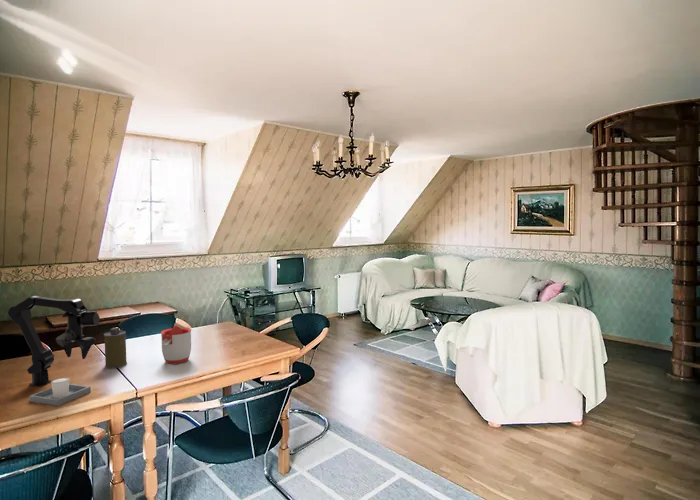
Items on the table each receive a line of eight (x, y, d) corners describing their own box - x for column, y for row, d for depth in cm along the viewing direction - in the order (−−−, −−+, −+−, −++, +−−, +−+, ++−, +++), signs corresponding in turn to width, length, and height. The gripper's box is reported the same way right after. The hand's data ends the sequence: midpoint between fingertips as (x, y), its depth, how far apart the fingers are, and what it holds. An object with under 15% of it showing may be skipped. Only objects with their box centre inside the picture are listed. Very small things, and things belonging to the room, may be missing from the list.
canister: (120, 368, 230) (119, 330, 228) (100, 368, 230) (99, 330, 229) (131, 361, 241) (129, 325, 239) (112, 361, 241) (111, 325, 239)
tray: (29, 401, 188) (29, 395, 188) (64, 387, 203) (63, 382, 203) (57, 406, 183) (57, 400, 183) (90, 391, 198) (90, 386, 198)
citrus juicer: (152, 365, 235) (151, 328, 233) (174, 355, 251) (173, 321, 250) (177, 368, 230) (176, 330, 229) (198, 358, 247) (197, 323, 245)
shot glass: (73, 392, 197) (72, 377, 196) (64, 398, 190) (63, 383, 189) (58, 392, 196) (57, 377, 196) (47, 399, 190) (47, 383, 189)
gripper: (43, 328, 203) (45, 361, 204) (74, 331, 197) (76, 365, 198) (65, 322, 213) (67, 354, 215) (95, 325, 208) (97, 357, 209)
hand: (76, 358), depth 209 cm, fingers open, 9 cm apart
